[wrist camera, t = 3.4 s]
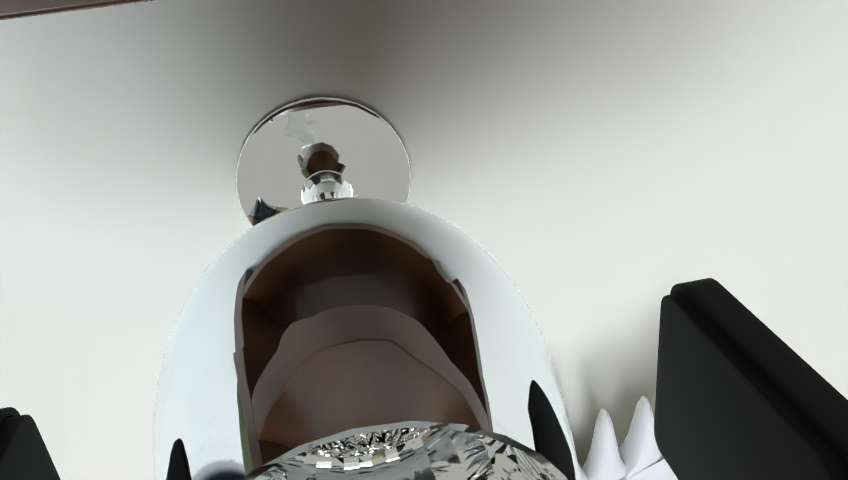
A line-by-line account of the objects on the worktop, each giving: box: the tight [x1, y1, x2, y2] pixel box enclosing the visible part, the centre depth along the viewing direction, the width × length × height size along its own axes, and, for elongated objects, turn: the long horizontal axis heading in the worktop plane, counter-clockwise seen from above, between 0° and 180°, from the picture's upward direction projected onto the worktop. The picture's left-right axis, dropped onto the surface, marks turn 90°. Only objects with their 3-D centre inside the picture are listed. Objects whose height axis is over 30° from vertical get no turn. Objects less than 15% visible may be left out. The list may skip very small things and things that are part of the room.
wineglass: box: [153, 97, 581, 480], centre depth 13 cm, size 6×6×12 cm
